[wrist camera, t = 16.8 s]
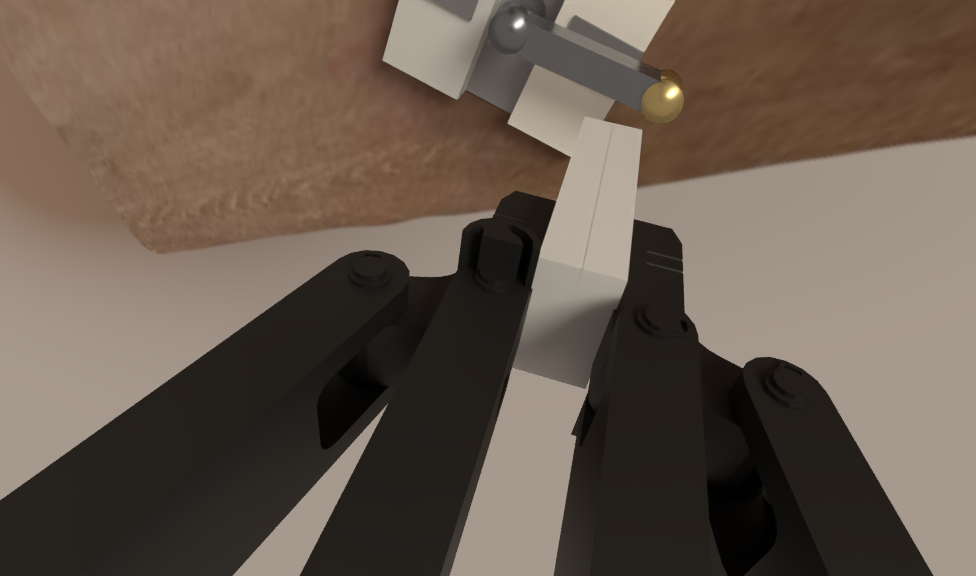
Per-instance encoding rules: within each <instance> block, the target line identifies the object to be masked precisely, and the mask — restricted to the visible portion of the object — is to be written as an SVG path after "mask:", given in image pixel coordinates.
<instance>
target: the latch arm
mask: <svg viewBox="0 0 976 576" xmlns="http://www.w3.org/2000/svg"><path fill="white" fill-rule="evenodd" d="M545 15H546V7H545V3H544V1H543V0H512V1H511V2H510V3H509V2H507V1H506V2H505V3H504V4H503V5H502V6H500V7H499V8H498V9H497V13H496V15H495V16H494V17H493V18H492V20H491V21H490V24H489V27H488V36H489V38H488V41H487V43H488V44H491V45H492V46H493V47H494V48H495V49H496V50H497V51H498V52H500V53H503V54H508V55H509V54H513V55H515V56H517V57H520V58H522V59H524V60H526V61H529V62H531V63H533V64H535V65H538V66H540V67H542V68H544V69H547V70H549V71H551V72H553V73H555V74H558V75H560V76H562V77H564V78H567V79H569V80H571V81H573V82H576V83H578V84H580V85H582V86H585V87H587V88H589V89H591V90H594V91H596V92H598V93H600V94H602V95H605V96H607V97H609V98H611V99H614V100H616V101H618V102H620V103H623V104H625V105H627V106H629V107H632V108H634V109H636V110H638V111H641V112H643V114H644V116H645V117H646V118H647V119H648V120H650V121H652V122H655V123H666V122H669V121H671V120H673V119H674V118H676V117H677V116H678V115H679V113H680V112H681V110H682V108H683V104H684V95H683V83H682V80H681V78H680V76H679V75H678V74H677V73H675V72H674V71H671V70H666V69H664V70H658V69H656V68H654V67H652V66H650V65H647V64H645V63H643V62H641V61H638V60H636V59H634V58H632V57H629V56H627V55H625V54H623V53H621V52H618V51H616V50H614V49H612V48H609V47H607V46H605V45H603V44H600V43H598V42H596V41H594V40H592V39H589V38H587V37H585V36H583V35H580V34H578V33H576V32H574V31H571V30H569V29H567V28H565V27H562V26H560V25H558V24H556V23H554V22H551V21H549V20H547V19H545Z"/></svg>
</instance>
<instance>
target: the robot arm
mask: <svg viewBox="0 0 976 576" xmlns="http://www.w3.org/2000/svg"><path fill="white" fill-rule="evenodd" d="M641 139H642V130H640V129H636V128H632V127H627V126H623V125H619V124H615V123H610V122H606V121H602V120H598V119H594V118H589V117H584V120H583V123H582V126H581V129H580V132H579V135H578V138H577V141H576V144H575V147H574V150H573V154H572V157H571V160H570V163H569V166H568V169H567V172H566V175H565V178H564V181H563V184H562V187H561V190H560V193H559V196H558V199H557V201H554V200H550V199H546V198H542V197H538V196H534V195H530V194H526V193H522V192H519V191H515V192H513V193H511V194H510V195H508V196H506V197H505V198H503V199H501V201H500V203H499V205H498V207H497V209H496V211H495V214H494V215H493V217H492V218H487V219H480V220H477V221H474V222H472V223H470V224H469V225H467V226H466V228H464V230H463V232H462V239H461V248H460V255H459V262H458V270H457V272H456V273H454V274H452V275H448V276H443V277H413V276H409V270H408V268H407V266H406V265H405V263H404V262H403V261H401V260H400V259H398V258H397V257H396V256H394V255H391V254H388V253H385V252H381V251H369V250H364V251H359V252H353V253H350V254H348V255H346V256H344V257H341V258H339V259H338V260H336V261H335V262H334V263H332V264H331V265H329V266H328V267H326V268H325V269H324V270H322V271H321V272H320V273H318V274H317V275H315V276H314V277H312V278H311V279H310V280H309V281H307V282H306V283H304V284H303V285H301V286H300V287H299V288H297V289H296V290H294V291H293V292H291V293H290V294H289V295H287V296H286V297H285V298H283V299H282V300H281V301H279V302H277V303H276V304H275V305H273V306H272V307H270V308H269V309H268V310H266V311H265V312H264V313H262V314H261V315H259V316H258V317H256V318H255V319H254V320H252V321H251V322H249V323H248V324H247V325H245V326H244V327H242V328H241V329H240V330H239V331H237V332H235V333H234V334H233V335H231V336H230V337H229V338H227V339H226V340H224V341H223V342H222V343H220V344H219V345H217V346H216V347H214V348H213V349H212V350H210V351H209V352H207V353H206V354H205V355H203V356H202V357H200V358H199V359H198V360H196V361H195V362H194V363H192V364H191V365H189V366H188V367H186V368H185V369H184V370H182V371H181V372H179V373H178V374H177V375H175V376H174V377H172V378H171V379H170V380H168V381H167V382H165V383H164V384H163V385H161V386H160V387H158V388H157V389H156V390H154V391H153V392H151V393H150V394H149V395H147V396H146V397H144V398H143V399H142V400H140V401H139V402H137V403H136V404H135V405H133V406H132V407H130V408H129V409H128V410H126V411H125V412H123V413H122V414H121V415H119V416H118V417H116V418H115V419H114V420H112V421H111V422H109V423H108V424H107V425H105V426H104V427H102V428H101V429H100V430H98V431H97V432H95V433H94V434H93V435H91V436H90V437H88V438H87V439H86V440H84V441H83V442H81V443H80V444H79V445H77V446H76V447H74V448H73V449H72V450H70V451H69V452H67V453H66V454H65V455H63V456H62V457H60V458H59V459H58V460H56V461H55V462H53V463H52V464H51V465H49V466H48V467H47V468H45V469H44V470H42V471H41V472H40V473H38V474H37V475H35V476H34V477H33V478H31V479H30V480H28V481H27V482H25V483H24V484H23V485H21V486H20V487H18V488H17V489H16V490H14V491H13V492H11V493H10V494H9V495H7V496H6V497H4V498H3V499H2V500H0V576H233V574H234V573H235V572H236V571H237V570H238V569H239V568H240V567H241V566H242V565H243V563H244V562H245V561H246V560H247V559H248V558H249V557H250V556H251V554H252V553H253V552H254V551H255V550H256V549H257V548H258V547H259V546H260V545H261V543H262V542H263V541H264V540H265V539H266V538H267V537H268V536H269V535H270V534H271V532H272V531H273V530H274V529H275V528H276V527H277V526H278V524H280V522H281V521H282V520H283V519H284V518H285V517H286V516H287V515H288V514H289V512H290V511H291V510H292V509H293V508H294V507H295V506H296V505H297V504H298V502H299V501H300V500H301V499H302V498H303V497H304V496H305V495H306V494H307V493H308V491H309V490H310V489H311V488H312V487H313V486H314V485H315V484H316V483H317V481H318V480H319V479H320V478H321V477H322V476H323V475H324V473H326V471H327V470H328V469H329V468H330V467H331V466H332V465H333V464H334V463H335V461H336V460H337V459H338V458H339V457H340V456H341V455H342V454H343V453H344V451H345V450H346V449H347V448H348V447H349V446H350V445H351V444H352V443H353V442H354V440H355V439H356V438H357V437H358V436H359V435H360V434H361V433H362V432H363V430H364V429H365V428H366V427H367V426H368V425H369V424H370V423H371V421H372V420H373V419H374V418H375V417H376V416H377V415H378V414H379V413H380V412H381V411H382V409H383V408H384V407H385V406H386V405H387V404H388V405H387V407H386V409H385V411H384V413H383V415H382V417H381V419H380V421H379V423H378V425H377V427H376V429H375V431H374V433H373V434H372V436H371V438H370V440H369V442H368V444H367V446H366V448H365V450H364V452H363V454H362V456H361V458H360V460H359V462H358V464H357V466H356V467H355V469H354V471H353V473H352V475H351V477H350V479H349V481H348V483H347V485H346V487H345V489H344V491H343V493H342V495H341V497H340V499H339V500H338V502H337V505H336V506H335V508H334V510H333V512H332V514H331V516H330V518H329V520H328V522H327V524H326V526H325V528H324V530H323V531H322V533H321V535H320V538H319V539H318V542H317V543H316V545H315V547H314V549H313V551H312V553H311V555H310V557H309V559H308V561H307V563H306V565H305V567H304V568H303V570H302V572H301V574H300V576H449V575H450V572H451V569H452V565H453V562H454V559H455V555H456V552H457V549H458V546H459V543H460V539H461V536H462V532H463V529H464V526H465V523H466V520H467V516H468V513H469V510H470V506H471V503H472V500H473V496H474V493H475V490H476V487H477V483H478V480H479V477H480V474H481V470H482V467H483V464H484V460H485V457H486V454H487V451H488V447H489V444H490V441H491V438H492V434H493V431H494V428H495V424H496V421H497V418H498V415H499V411H500V408H501V405H502V401H503V398H504V395H505V391H506V388H507V384H508V380H509V376H510V372H511V369H512V367H513V368H516V369H519V370H523V371H527V372H530V373H533V374H537V375H540V376H543V377H547V378H550V379H554V380H557V381H560V382H564V383H567V384H571V385H574V386H577V387H581V388H586V386H587V383H588V381H589V378H590V383H589V389H588V393H587V396H586V398H585V401H584V403H583V406H582V408H581V411H580V413H579V416H578V418H577V421H576V423H575V426H574V428H573V431H572V433H571V434H572V435H575V436H576V443H575V449H574V455H573V461H572V467H571V473H570V480H569V486H568V491H567V498H566V504H565V510H564V516H563V522H562V528H561V535H560V540H559V546H558V552H557V558H556V565H555V571H554V576H933V574H932V573H931V571H930V569H929V567H928V566H927V564H926V562H925V561H924V559H923V557H922V555H921V554H920V552H919V550H918V548H917V547H916V545H915V543H914V542H913V540H912V538H911V537H910V535H909V533H908V531H907V530H906V528H905V526H904V525H903V523H902V521H901V519H900V518H899V516H898V514H897V512H896V511H895V509H894V507H893V505H892V504H891V502H890V500H889V499H888V497H887V495H886V493H885V492H884V490H883V488H882V487H881V485H880V483H879V481H878V480H877V478H876V476H875V474H874V473H873V471H872V469H871V468H870V466H869V464H868V462H867V461H866V459H865V457H864V456H863V454H862V452H861V450H860V449H859V447H858V445H857V443H856V442H855V440H854V438H853V437H852V435H851V433H850V432H849V430H848V428H847V426H846V425H845V423H844V421H843V420H842V418H841V416H840V414H839V413H838V411H837V409H836V407H835V406H834V404H833V402H832V401H831V399H830V397H829V395H828V394H827V392H826V391H825V390H824V389H823V387H822V386H821V385H820V384H819V382H818V381H817V380H816V379H814V378H813V377H812V376H811V375H809V374H808V373H807V372H806V371H804V370H803V369H801V368H799V367H797V366H795V365H793V364H791V363H789V362H787V361H784V360H780V359H776V358H772V357H759V358H755V359H753V360H751V361H749V362H747V363H746V365H745V366H744V368H741V367H739V366H737V365H735V364H733V363H731V362H729V361H727V360H725V359H723V358H722V357H720V356H718V355H716V354H715V353H713V352H711V351H709V350H708V349H707V348H706V347H704V346H703V345H702V344H700V343H699V341H698V333H697V330H696V327H695V324H694V323H693V322H692V321H691V320H690V318H689V317H688V316H687V315H686V314H685V311H684V285H683V273H682V272H683V262H682V259H683V258H682V257H683V256H682V243H681V242H680V240H679V239H678V237H677V236H676V234H675V233H674V231H673V230H672V229H670V228H666V227H662V226H658V225H654V224H650V223H647V222H643V221H639V220H635V219H634V211H635V200H636V190H637V180H638V169H639V159H640V149H641Z"/></svg>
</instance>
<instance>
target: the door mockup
mask: <svg viewBox="0 0 976 576" xmlns="http://www.w3.org/2000/svg"><path fill="white" fill-rule="evenodd" d="M506 1H507V2H509V3H510V2H511V1H512V0H399V2H398V6H397V9H396V13H395V17H394V20H393V24H392V28H391V31H390V35H389V39H388V42H387V46H386V49H385V53H384V57H383V61H384V62H386V63H388V64H390V65H392V66H394V67H396V68H398V69H399V70H401V71H403V72H405V73H407V74H409V75H411V76H413V77H415V78H416V79H418V80H420V81H422V82H424V83H426V84H428V85H430V86H432V87H433V88H435V89H437V90H439V91H441V92H443V93H445V94H447V95H449V96H450V97H452V98H454V99H456V100H457V99H458V98H459V97H460V96H461V95H462V94H463V93H464V91H465V90H467V91H469V92H471V93H473V94H474V95H476V96H478V97H480V98H482V99H484V100H486V101H488V102H490V103H491V104H493V105H495V106H497V107H499V108H501V109H503V110H505V111H506V112H508V113H510V114H511V116H510V119H509V121H508V124H509V125H511V126H513V127H515V128H517V129H519V130H521V131H523V132H525V133H526V134H528V135H530V136H532V137H534V138H536V139H538V140H540V141H541V142H543V143H545V144H547V145H549V146H551V147H553V148H555V149H557V150H558V151H560V152H562V153H564V154H566V155H568V156H570V157H572V154H573V150H574V147H575V144H576V141H577V138H578V135H579V132H580V129H581V126H582V123H583V120H584V117H589V118H594V119H598V120H602V121H603V120H604V118H605V117H606V115H607V113H608V112H609V110H610V108H611V107H612V105H613V103H614V102H615V100H614V99H611V98H609V97H607V96H605V95H602V94H600V93H598V92H596V91H594V90H591V89H589V88H587V87H585V86H582V85H580V84H578V83H576V82H573V81H571V80H569V79H567V78H564V77H562V76H560V75H558V74H555V73H553V72H551V71H549V70H547V69H544V68H542V67H540V66H538V65H535V64H533V63H531V62H529V61H526V60H524V59H522V58H520V57H517V56H515V55H513V54H509V55H508V54H503V53H500V52H498V51H497V50H496V49H495V48H494V47H493V46H492V45H491V44H488V43H487V41H488V38H489V36H488V27H489V24H490V21H491V20H492V18H493V17H494V16H495V15H496V13H497V9H498V8H499V7H500V6H502V5H503V4H504V3H505V2H506ZM543 1H544V3H545V7H546V15H545V19H547V20H549V21H551V22H554V23H556V24H558V25H560V26H562V27H565V28H567V29H569V30H571V31H574V32H576V33H578V34H580V35H583V36H585V37H587V38H589V39H592V40H594V41H596V42H598V43H600V44H603V45H605V46H607V47H609V48H612V49H614V50H616V51H618V52H621V53H623V54H625V55H627V56H629V57H632V58H634V59H636V60H638V61H640V59H641V58H642V56H643V54H644V52H645V50H646V48H647V47H648V45H649V43H650V42H651V40H652V38H653V37H654V35H655V33H656V32H657V30H658V28H659V27H660V25H661V23H662V22H663V20H664V18H665V16H666V15H667V13H668V11H669V10H670V8H671V6H672V5H673V3H674V1H675V0H543Z"/></svg>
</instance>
